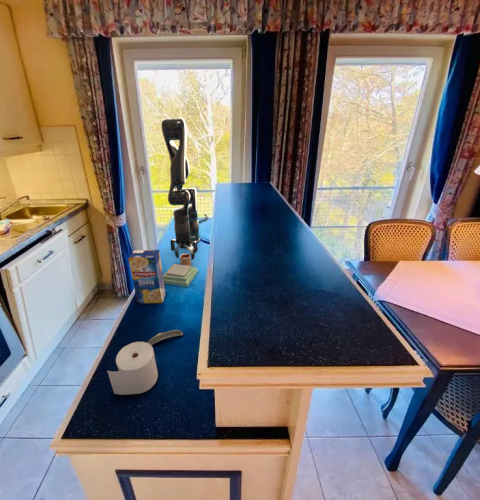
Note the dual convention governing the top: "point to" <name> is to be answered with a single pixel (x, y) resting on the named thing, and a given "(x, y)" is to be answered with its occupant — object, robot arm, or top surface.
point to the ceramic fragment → (164, 336)
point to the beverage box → (147, 276)
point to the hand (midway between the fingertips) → (185, 258)
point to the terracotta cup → (185, 259)
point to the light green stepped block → (180, 278)
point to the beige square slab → (178, 270)
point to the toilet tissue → (134, 369)
